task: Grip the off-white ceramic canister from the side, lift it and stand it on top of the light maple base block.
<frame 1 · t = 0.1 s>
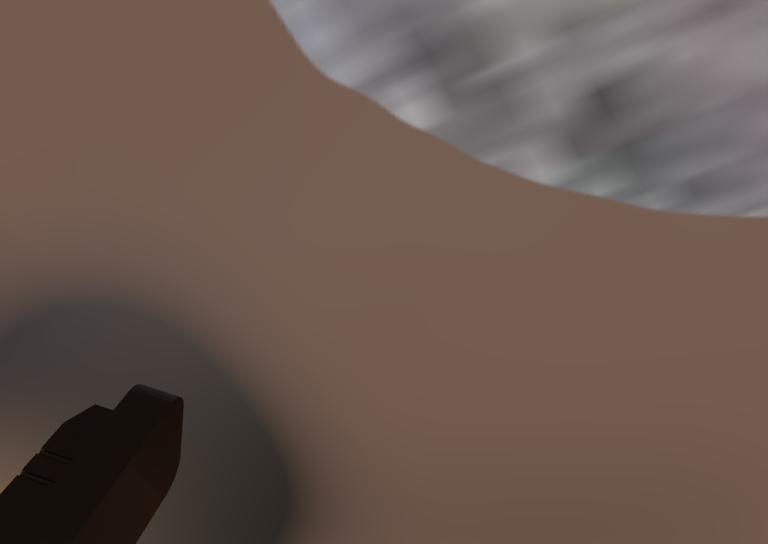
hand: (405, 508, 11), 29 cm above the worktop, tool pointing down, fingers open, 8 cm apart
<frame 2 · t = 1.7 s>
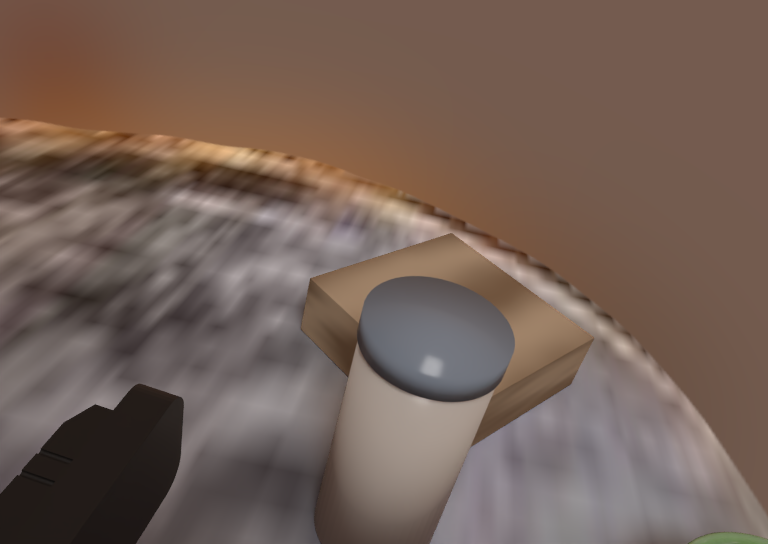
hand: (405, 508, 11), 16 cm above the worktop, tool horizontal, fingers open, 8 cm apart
canister: (373, 521, 29), on the worktop
base block: (437, 356, 39), on the worktop
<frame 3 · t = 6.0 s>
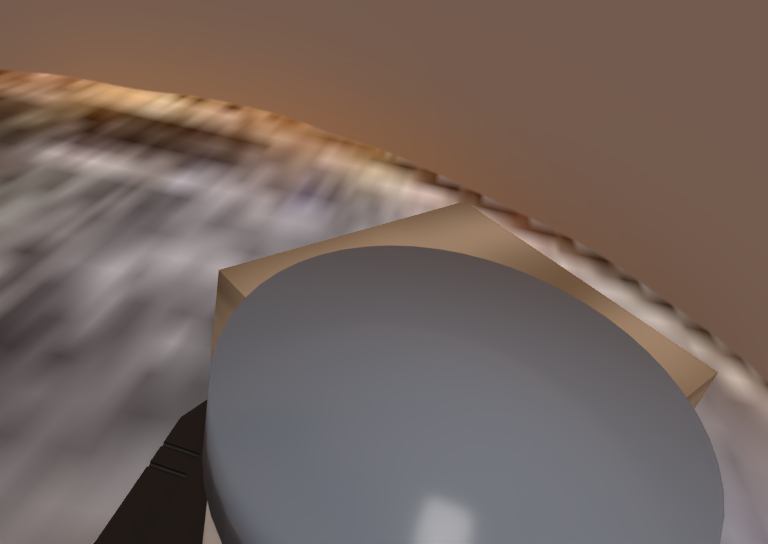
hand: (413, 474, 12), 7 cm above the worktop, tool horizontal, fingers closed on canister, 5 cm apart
base block: (445, 403, 23), on the worktop
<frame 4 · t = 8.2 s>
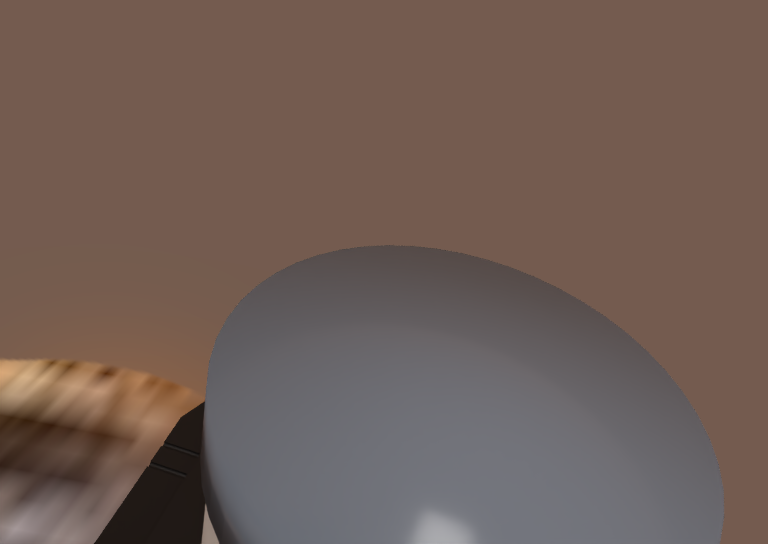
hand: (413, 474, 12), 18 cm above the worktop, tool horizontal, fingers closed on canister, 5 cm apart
when the fingers open (11 cm above the worktop, at t = 10.3 s): canister drops 1 cm, resting on base block.
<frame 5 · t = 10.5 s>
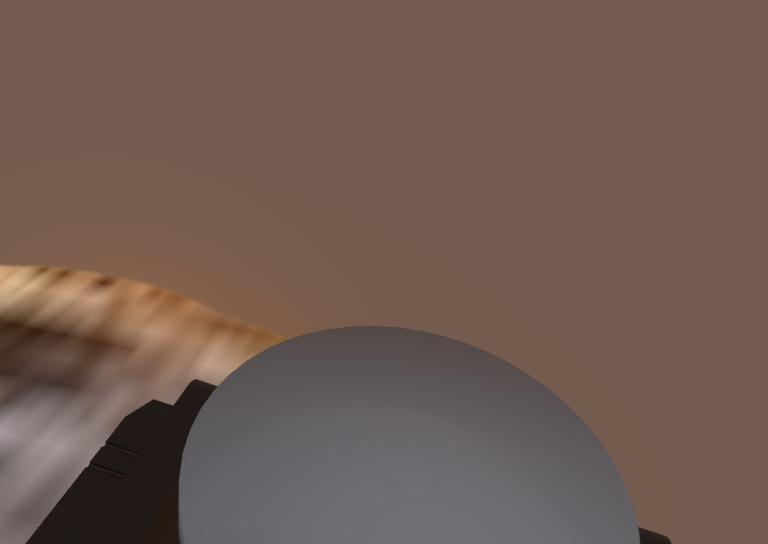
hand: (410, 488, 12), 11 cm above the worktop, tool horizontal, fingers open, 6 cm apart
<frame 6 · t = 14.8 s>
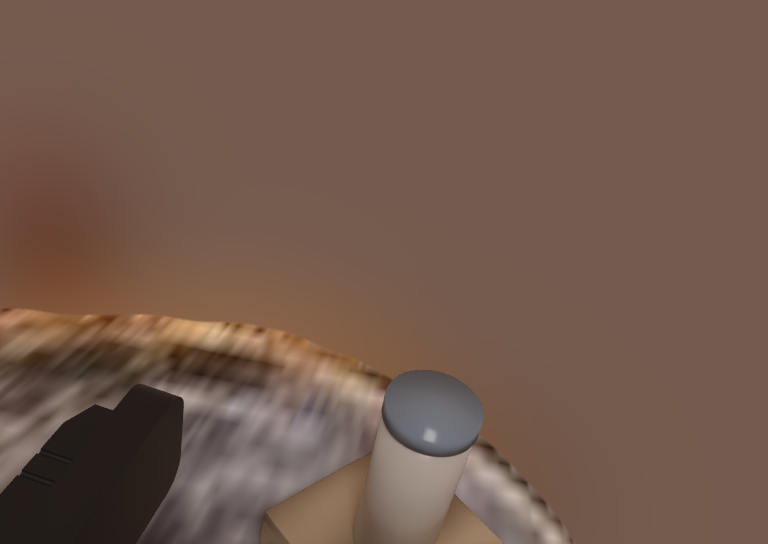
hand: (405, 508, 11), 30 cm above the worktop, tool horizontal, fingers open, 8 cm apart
canister: (393, 535, 42), point 4 cm above the worktop, touching base block
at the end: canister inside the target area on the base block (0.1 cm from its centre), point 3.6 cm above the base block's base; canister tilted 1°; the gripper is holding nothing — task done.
